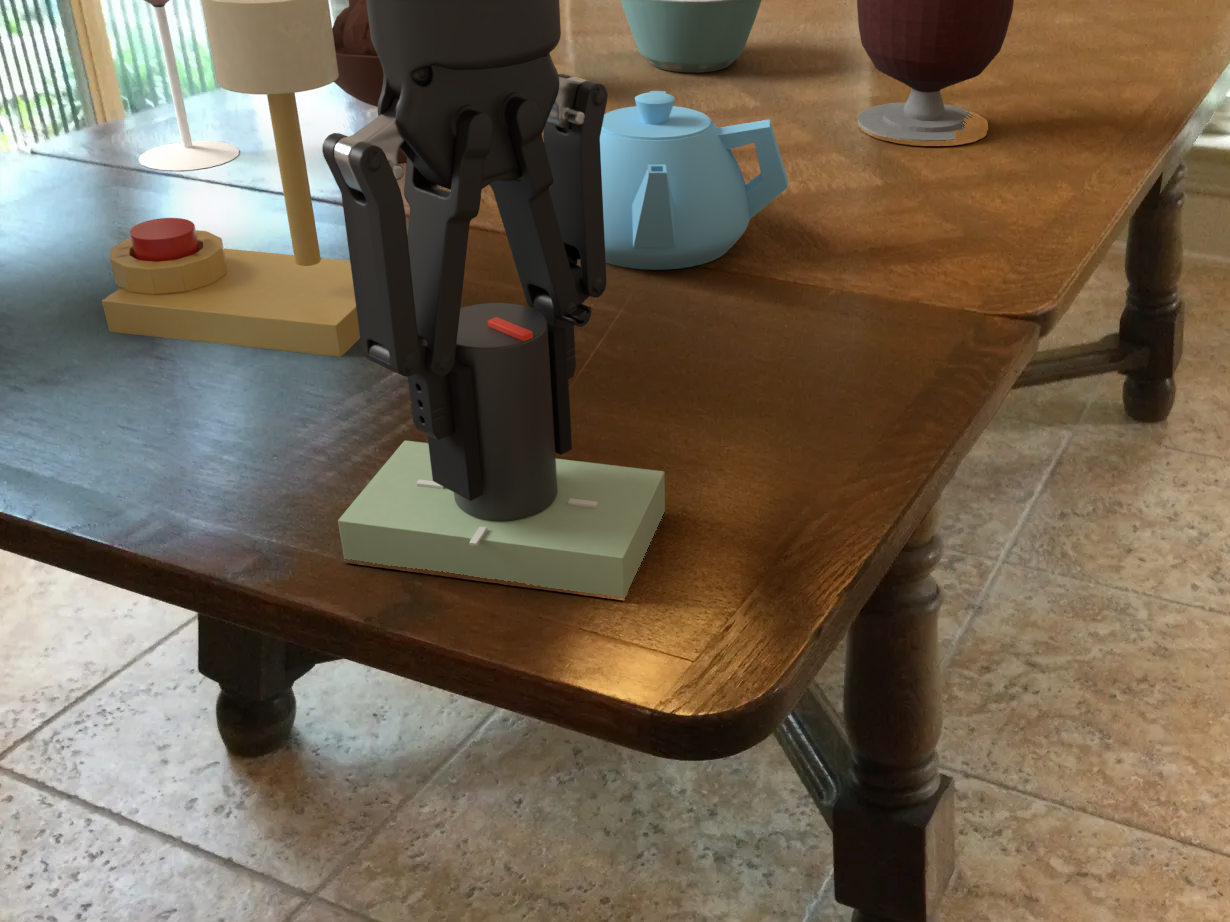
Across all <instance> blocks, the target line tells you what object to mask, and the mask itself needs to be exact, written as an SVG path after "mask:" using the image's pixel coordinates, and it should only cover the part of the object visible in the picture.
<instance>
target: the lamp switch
mask: <svg viewBox="0 0 1230 922" xmlns="http://www.w3.org/2000/svg"><path fill="white" fill-rule="evenodd" d="M196 230H197V229H196V226H195V223H194V222H193V221H191V220H189V219H186V218H182V217H181V218H180V217H161V218H154V219H149V220H145V221H142V222H140V223H137V224H135V225H133V226H132V227H131V228H130V229H129V238H131V242H132V246H133V250H134V254H135V258H136V259H138V260H142V261H152V262H160V261H170V260H177V259H180V258H184V257H187V256H190V255H194V254H195V253H197V252H198V251H200V249H199V244H198V239H197V234H196Z"/></svg>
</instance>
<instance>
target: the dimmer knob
mask: <svg viewBox="0 0 1230 922" xmlns="http://www.w3.org/2000/svg"><path fill="white" fill-rule="evenodd" d="M455 361H456V362H458V363H460V364H462V365H464V366H467V367H469V368H471V377H472V388H473V398H474V408H475V419H476V429H477V439H478V449H479V460H480V470H481V480H482V491H483V495H481V496H479V497H477V498H476V499H474V500H472V501H469V500H468V499H466V498H464V497H462V496H460V495H458V494H456V493H454V498H455V502H456V504H457V505H458V507H459V508H460V509H461V510H463V511H464V512H465V513H467V514H469V515H471V516H474V517H477V518H480V519H485V520H493V521H508V520H517V519H522V518H526V517H529V516H532V515H535V514H537V513H539V512H541V511H543V510H544V509H546V508H547V507H549V506H550V505H551V504H552V503H553V501H554V500H555V498H556V496H557V491H558V489H557V473H556V459H557V458H556V457H557V456H556V452H555V440H554V424H553V408H552V391H551V375H550V359H549V342H548V326H547V321H546V319H545V317H544V316H543V315H542V314H541V313H540V312H538V311H536V310H534V309H533V308H531V307H529V306H527V305H526V306H525V305H522V304H517V303H507V302H487V303H485V302H484V303H478V304H472V305H467V306H464V307H460V316H459V325H458V334H457V343H456V353H455Z"/></svg>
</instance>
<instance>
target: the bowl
mask: <svg viewBox="0 0 1230 922" xmlns="http://www.w3.org/2000/svg"><path fill="white" fill-rule="evenodd" d="M620 2H621V5H622V8H623V11H624V15H625V17H626V21H627V23H628V26H629V28H630V32H631V34H632V37H633V40H634V42H635V45H636V48H637V50H638V53H639V54H640V55H641V56H642V57H643V58H644V59H645V60H647V61H648V62H649V63H650V64H651V65H652V66H653V67H656V68H657V69H661V70H663V71H669V72H676V73H685V74H687V73H688V74H690V73H691V74H698V73H709V72H716V71H720V70H723V69H726V68H728V67H729V66H731V65H732V64H733V63H734V62H735V61H736V60H737V59H738V58H739V57H740V56H741V55H742V54H743V53H744V51H745V48H746V45H747V42H748V40H749V37H750V34H751V32H752V30H753V26H754V23H755V21H756V18H757V15H758V12H759V10H760V7H761V3H762V0H620Z"/></svg>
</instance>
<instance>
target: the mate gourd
mask: <svg viewBox="0 0 1230 922" xmlns="http://www.w3.org/2000/svg"><path fill="white" fill-rule="evenodd" d="M1014 2H1015V0H856V9H857V10H856V11H857V22H858V23H857V25H858V31H859V38H860V42H861V43H860V44H861V46H862V48H863V49H864V50H865V52H866V54H867V56H868V58H869V60H870V61H871V63H872V64H873V66H874V67H875V69H876V70H877V71H878V72H880V73H882V74H884V75H886V76H888V77H890V78H892V79H894V80H896V81H898V82H900V83H902V84H904V85H905V86H907V87H909V88H910V89H911V91H910V94H909V95H908V98H907V100H906V101H905V102H904V101H903V102H889V103H883V104H878V105H874V106H871V107H867V108H866V109H864V110H862V111H861V112H860V113H858V115H857V121H858V124H859V126H861V127H862V128H863V129H864V130H867V131H868V132H871V133H873V134H876V135H879V136H883V137H888V138H893V139H897V140H905V141H906V140H907V141H920V142H924V141H926V142H927V141H946V140H954V139H956V138H955V137H956V130H957V131H959V132H961V130H964V129H963V128H965V127H964V126H965V125H964V124H963V122H964V123H966V122H965V121H964V118H967V117H966V116H968V117H970V118H972V117H971V116H973V115H971V114H970V113H969V111H968V112H965V111H967V110H966V109H967V108H963V107H959V106H955V105H950V104H944V101H943V98H942V93H941V91H942V90H943V89H946V88H948V87H951V86H954V85H956V84H960V83H962V82H965V81H969V80H971V79H975V78H977V77H978V76H980V75H981V74H982V73H983V71H985V70H986V68H987V67H988V66H989V65H990V64H991V63H992V61H993V60H994V59H995V58H996V57H997V55H998V54H999V53H1000V52H1001V50H1002V47H1003V44H1004V42H1005V39H1006V36H1007V33H1008V30H1009V25H1010V22H1011V18H1012V15H1013V11H1014ZM962 109H963V110H962ZM964 110H965V111H964ZM968 114H969V115H971V116H969V115H968ZM967 119H968V118H967ZM966 124H967V123H966ZM962 127H963V128H962ZM952 134H953V135H952ZM954 135H955V136H954Z"/></svg>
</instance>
